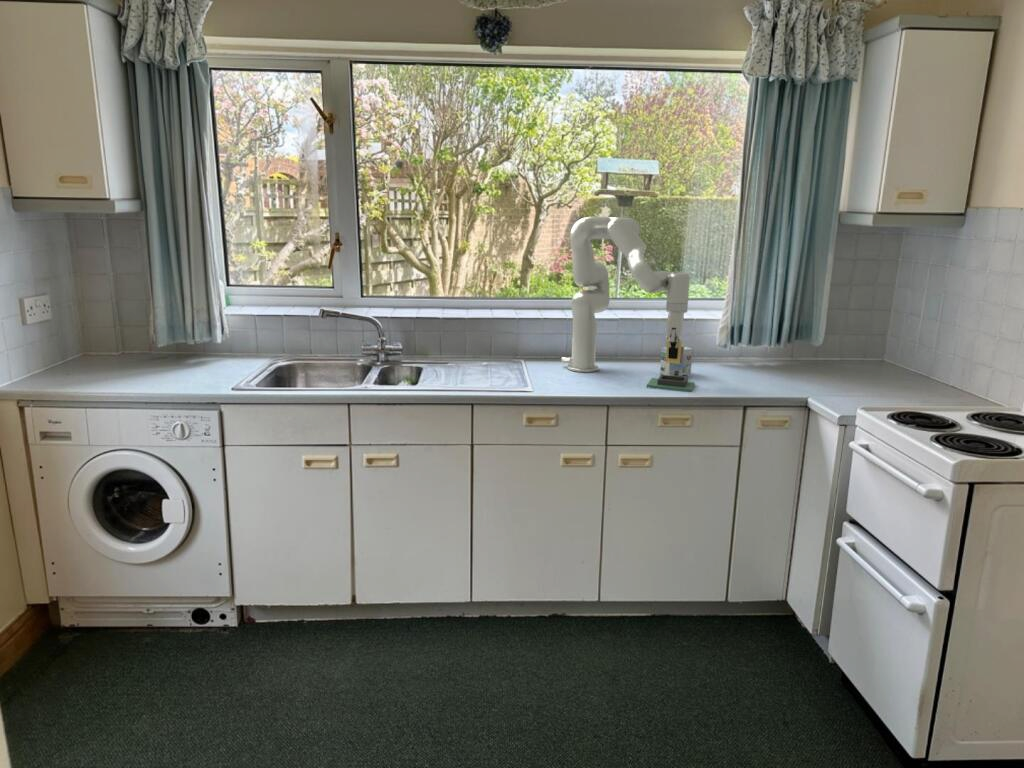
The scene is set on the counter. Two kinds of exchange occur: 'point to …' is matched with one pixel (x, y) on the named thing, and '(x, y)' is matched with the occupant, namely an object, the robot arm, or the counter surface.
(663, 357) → the light bulb box
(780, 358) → the counter surface
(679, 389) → the header board
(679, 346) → the keyed plug
